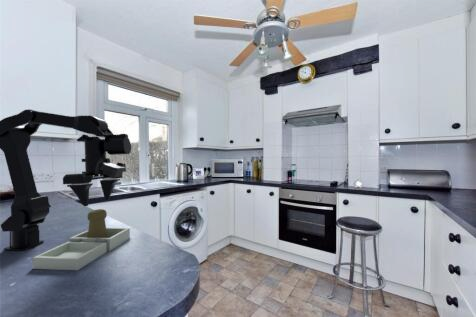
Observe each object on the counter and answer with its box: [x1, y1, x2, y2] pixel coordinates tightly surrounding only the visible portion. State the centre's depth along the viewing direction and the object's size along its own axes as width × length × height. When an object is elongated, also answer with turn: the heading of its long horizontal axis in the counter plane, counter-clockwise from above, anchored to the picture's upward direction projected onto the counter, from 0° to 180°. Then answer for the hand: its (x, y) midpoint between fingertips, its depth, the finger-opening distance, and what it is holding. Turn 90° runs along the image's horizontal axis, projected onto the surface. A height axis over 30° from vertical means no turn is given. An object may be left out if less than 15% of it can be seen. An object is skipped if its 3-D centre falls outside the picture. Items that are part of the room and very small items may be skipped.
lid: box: [32, 241, 108, 271], centre depth 56 cm, size 12×10×3 cm
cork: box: [87, 208, 108, 238], centre depth 67 cm, size 6×6×11 cm
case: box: [68, 227, 131, 252], centre depth 66 cm, size 13×11×4 cm
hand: (97, 202), depth 67 cm, fingers open, 9 cm apart
